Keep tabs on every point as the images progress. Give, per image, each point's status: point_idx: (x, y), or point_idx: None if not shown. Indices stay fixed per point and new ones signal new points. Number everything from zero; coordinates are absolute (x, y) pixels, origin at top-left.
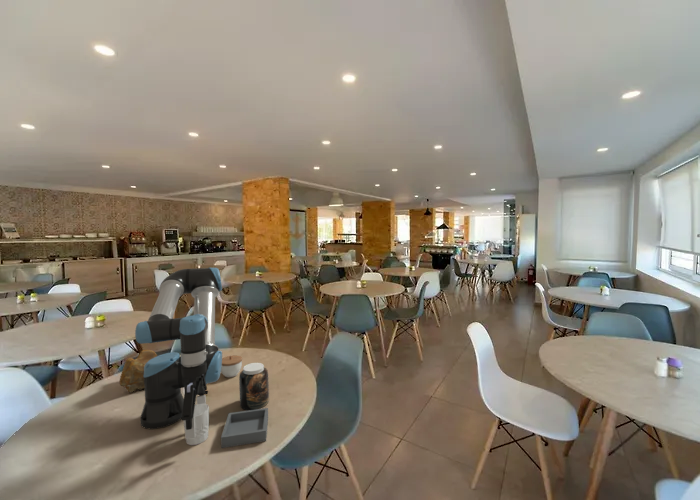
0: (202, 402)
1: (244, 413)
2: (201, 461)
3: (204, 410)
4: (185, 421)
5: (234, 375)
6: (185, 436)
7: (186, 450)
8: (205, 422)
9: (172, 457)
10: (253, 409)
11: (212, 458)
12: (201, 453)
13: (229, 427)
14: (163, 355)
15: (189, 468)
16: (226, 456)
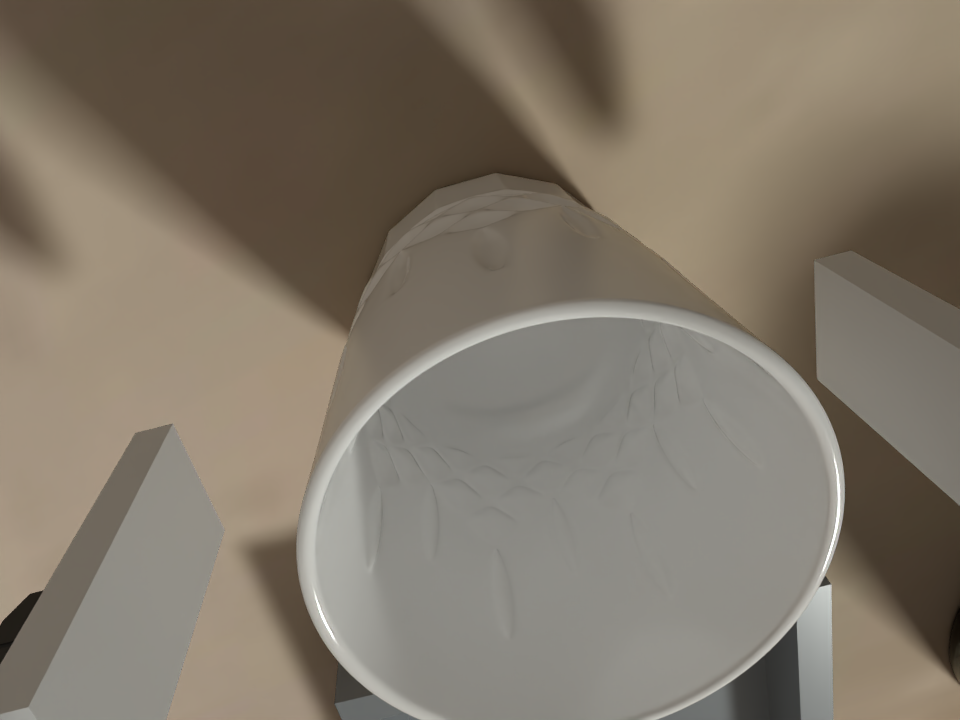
0: (958, 455)
1: (796, 715)
2: None
3: (731, 516)
4: (17, 665)
5: None
6: (121, 458)
7: (275, 286)
8: (475, 577)
9: (129, 182)
10: (953, 646)
11: None
12: (246, 473)
13: None
14: None
15: (13, 472)
16: (236, 689)
